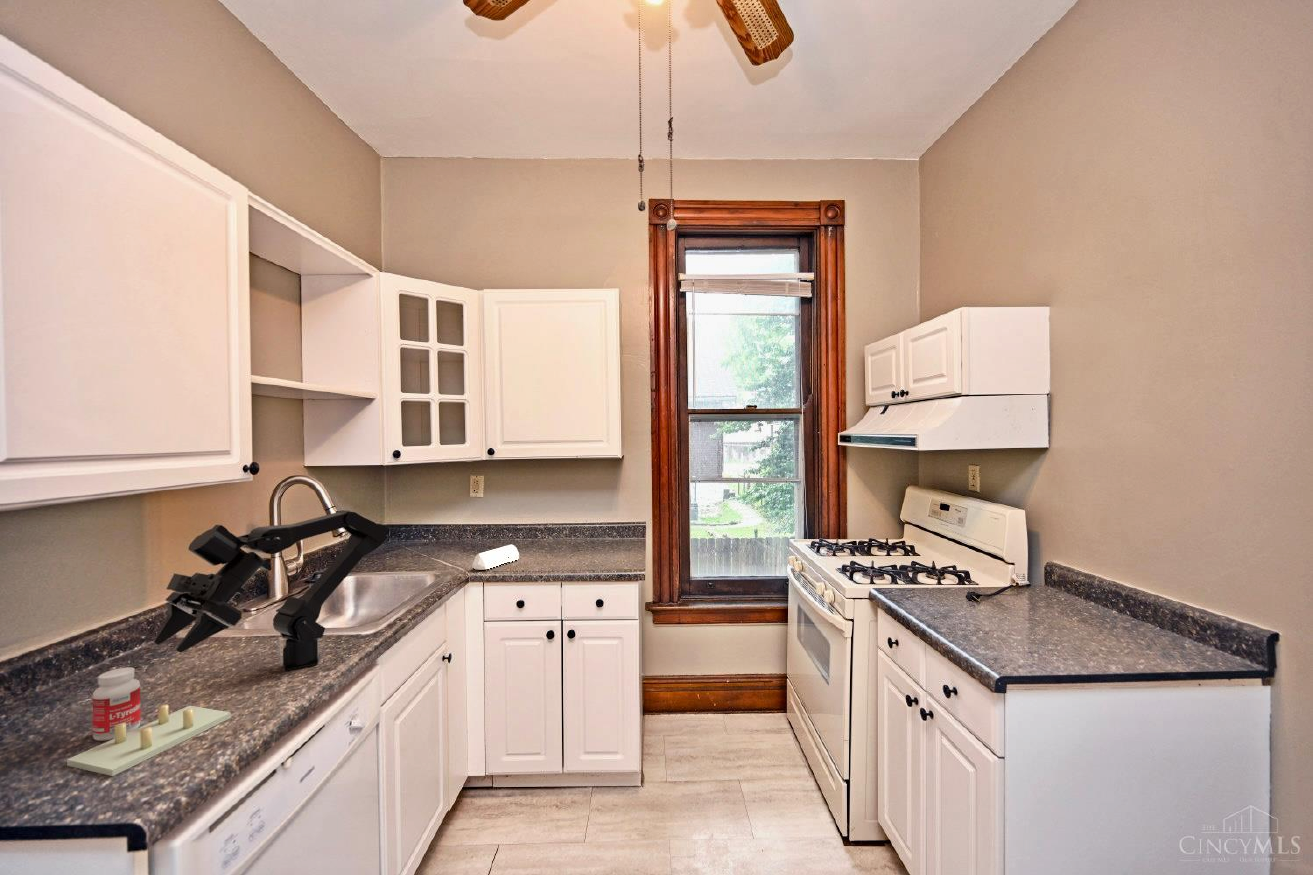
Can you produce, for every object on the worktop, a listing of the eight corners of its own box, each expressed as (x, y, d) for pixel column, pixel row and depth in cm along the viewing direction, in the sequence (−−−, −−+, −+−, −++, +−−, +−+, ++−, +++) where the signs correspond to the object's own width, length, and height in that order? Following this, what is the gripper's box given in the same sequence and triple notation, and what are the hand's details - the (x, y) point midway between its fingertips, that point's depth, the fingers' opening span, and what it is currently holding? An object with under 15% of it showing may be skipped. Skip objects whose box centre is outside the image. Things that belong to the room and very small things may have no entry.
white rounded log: (485, 563, 208) (525, 551, 230) (473, 553, 211) (514, 542, 232) (478, 579, 210) (519, 565, 231) (467, 568, 212) (507, 556, 234)
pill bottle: (108, 743, 93) (107, 681, 93) (83, 739, 94) (82, 678, 94) (149, 725, 99) (148, 666, 99) (125, 721, 100) (124, 663, 100)
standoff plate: (189, 710, 104) (189, 690, 104) (230, 717, 101) (230, 696, 101) (67, 765, 87) (66, 741, 87) (112, 776, 84) (112, 751, 84)
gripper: (177, 552, 112) (106, 620, 102) (222, 560, 104) (150, 635, 94) (221, 580, 119) (159, 646, 109) (267, 590, 111) (204, 662, 101)
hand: (166, 647), depth 103 cm, fingers open, 9 cm apart
